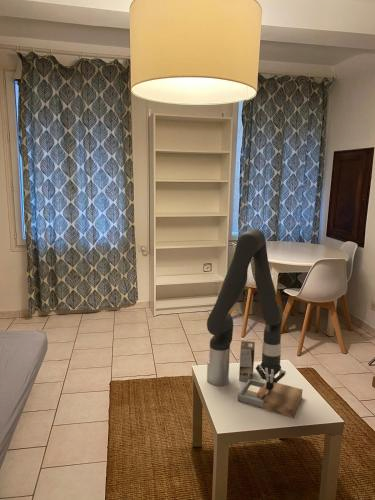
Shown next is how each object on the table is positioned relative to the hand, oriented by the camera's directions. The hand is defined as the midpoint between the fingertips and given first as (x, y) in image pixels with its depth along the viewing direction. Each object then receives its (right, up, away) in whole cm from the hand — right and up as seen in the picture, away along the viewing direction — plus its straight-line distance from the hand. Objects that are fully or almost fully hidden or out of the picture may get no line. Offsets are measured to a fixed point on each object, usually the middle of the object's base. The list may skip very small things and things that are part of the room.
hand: (269, 389), depth 164 cm
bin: (-6, -4, +3) cm, 8 cm away
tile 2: (-2, -2, +1) cm, 3 cm away
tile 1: (-6, -1, +4) cm, 7 cm away
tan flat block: (+5, -5, -2) cm, 8 cm away
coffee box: (-7, -1, +19) cm, 20 cm away
